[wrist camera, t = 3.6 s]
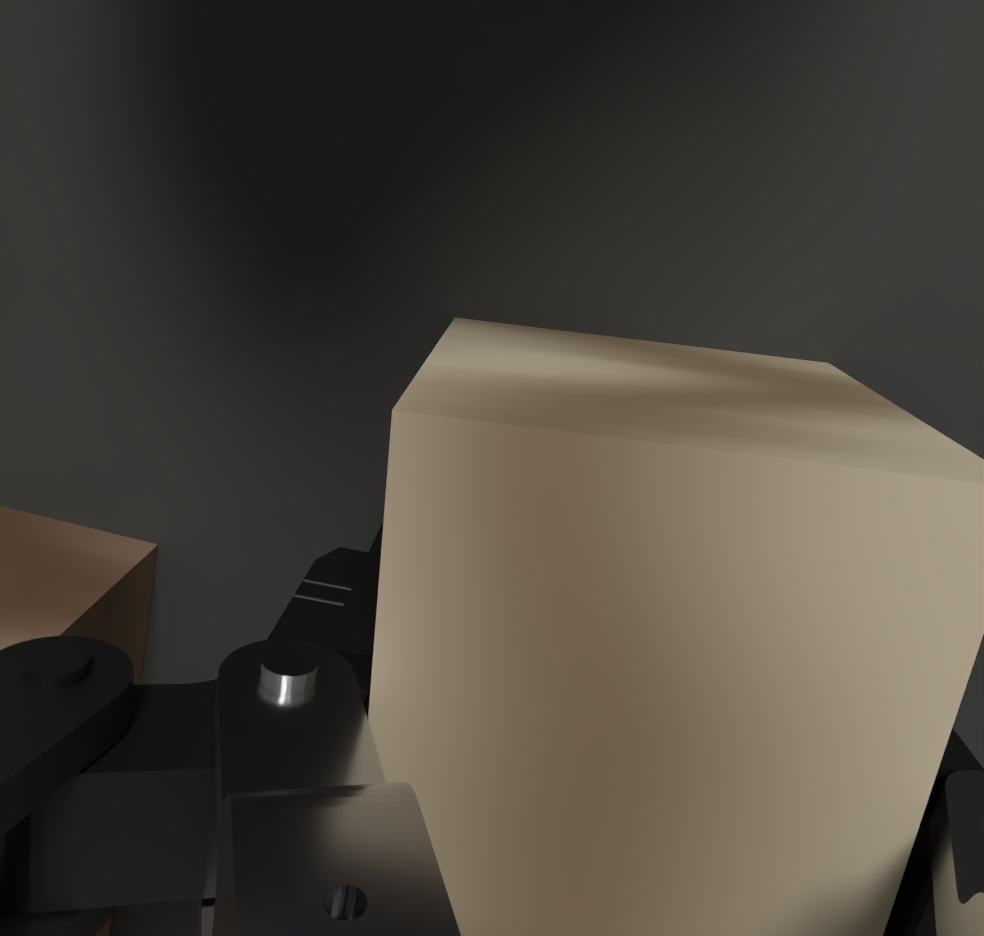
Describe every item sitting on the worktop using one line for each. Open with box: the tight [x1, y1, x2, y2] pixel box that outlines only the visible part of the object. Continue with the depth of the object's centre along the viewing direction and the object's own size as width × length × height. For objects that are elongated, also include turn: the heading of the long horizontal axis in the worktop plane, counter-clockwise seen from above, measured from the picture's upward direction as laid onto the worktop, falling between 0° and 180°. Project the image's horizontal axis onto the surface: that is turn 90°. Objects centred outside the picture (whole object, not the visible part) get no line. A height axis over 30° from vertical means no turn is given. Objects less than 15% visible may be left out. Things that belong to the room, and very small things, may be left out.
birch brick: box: [368, 317, 984, 936], centre depth 10 cm, size 5×8×5 cm, turn 174°
